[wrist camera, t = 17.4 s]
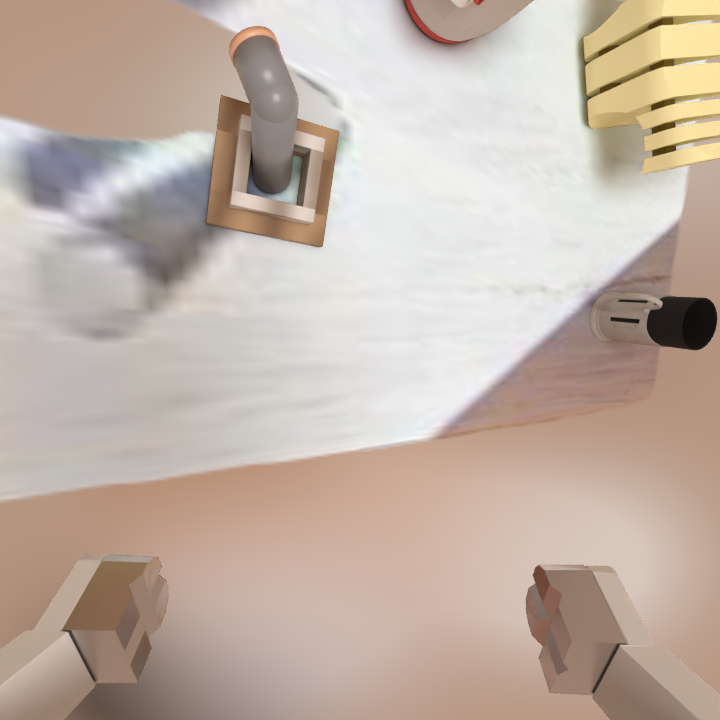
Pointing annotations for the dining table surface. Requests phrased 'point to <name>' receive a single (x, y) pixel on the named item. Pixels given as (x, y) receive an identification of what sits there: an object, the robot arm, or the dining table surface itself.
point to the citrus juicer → (462, 17)
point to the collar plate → (266, 214)
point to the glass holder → (654, 320)
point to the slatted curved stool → (657, 77)
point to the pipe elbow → (267, 105)
